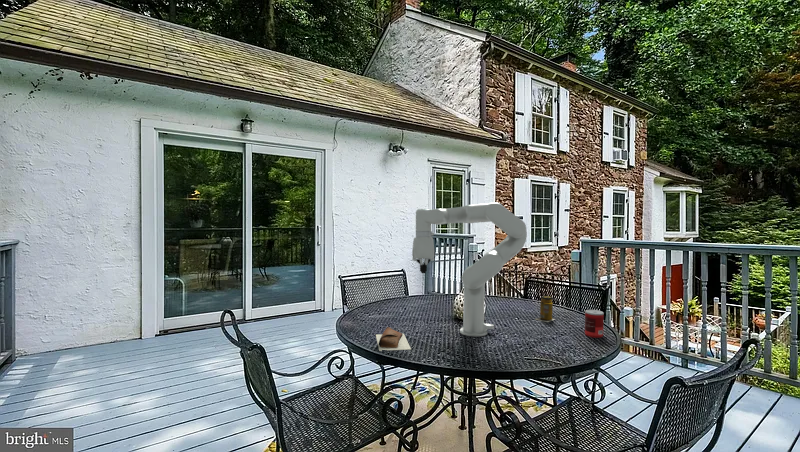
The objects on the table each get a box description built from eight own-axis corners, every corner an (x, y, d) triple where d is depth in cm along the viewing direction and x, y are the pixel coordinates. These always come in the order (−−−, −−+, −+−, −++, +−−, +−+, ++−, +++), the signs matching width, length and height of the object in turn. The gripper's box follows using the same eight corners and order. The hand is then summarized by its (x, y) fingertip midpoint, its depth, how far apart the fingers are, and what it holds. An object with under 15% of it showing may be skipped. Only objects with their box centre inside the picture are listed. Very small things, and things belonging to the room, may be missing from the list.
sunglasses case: (399, 347, 162) (390, 332, 163) (384, 355, 163) (376, 341, 163) (403, 333, 180) (395, 321, 180) (390, 341, 181) (382, 328, 181)
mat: (403, 333, 182) (403, 333, 182) (411, 349, 162) (411, 349, 162) (375, 334, 181) (375, 334, 181) (379, 350, 160) (379, 350, 160)
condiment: (555, 319, 208) (555, 296, 208) (548, 322, 203) (548, 299, 202) (542, 316, 214) (542, 294, 213) (534, 319, 208) (535, 297, 207)
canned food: (602, 334, 184) (603, 310, 183) (603, 339, 176) (604, 314, 176) (584, 331, 187) (585, 308, 186) (584, 336, 180) (585, 312, 179)
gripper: (436, 234, 194) (436, 271, 195) (406, 234, 192) (406, 272, 192) (440, 235, 187) (440, 273, 187) (409, 235, 184) (409, 274, 185)
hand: (423, 272), depth 190 cm, fingers closed
